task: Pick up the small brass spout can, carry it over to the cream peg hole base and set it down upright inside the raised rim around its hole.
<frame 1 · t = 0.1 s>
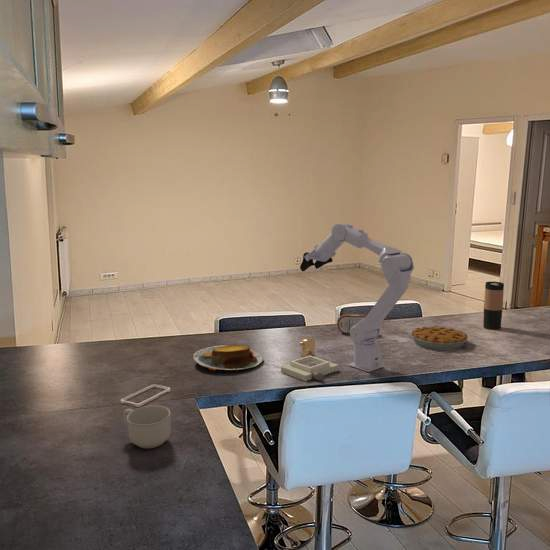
hand: (308, 267, 217), 32 cm above the worktop, tool tilted 50°, fingers open, 7 cm apart
spout can: (307, 357, 212), on the worktop
phone case: (146, 398, 176), on the worktop
cream peg hole base: (309, 371, 197), on the worktop
food on plate: (227, 363, 207), on the worktop
travel mug: (491, 328, 251), on the worktop
pie: (438, 343, 230), on the worktop
tin: (354, 333, 244), on the worktop
teacup: (146, 442, 146), on the worktop
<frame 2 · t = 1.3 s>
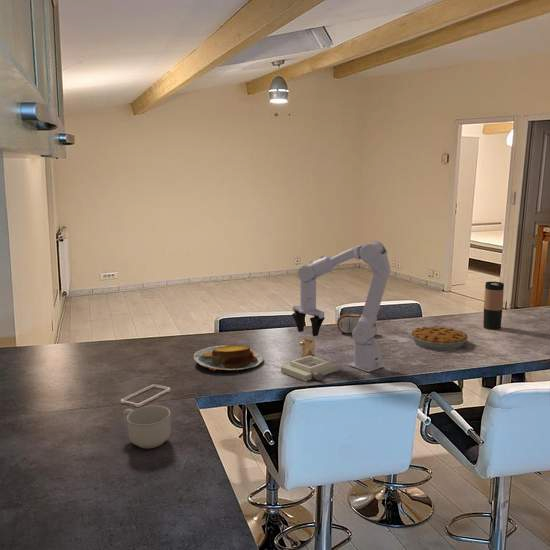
hand: (308, 333, 210), 9 cm above the worktop, tool pointing down, fingers open, 7 cm apart
nothing on the worktop moved.
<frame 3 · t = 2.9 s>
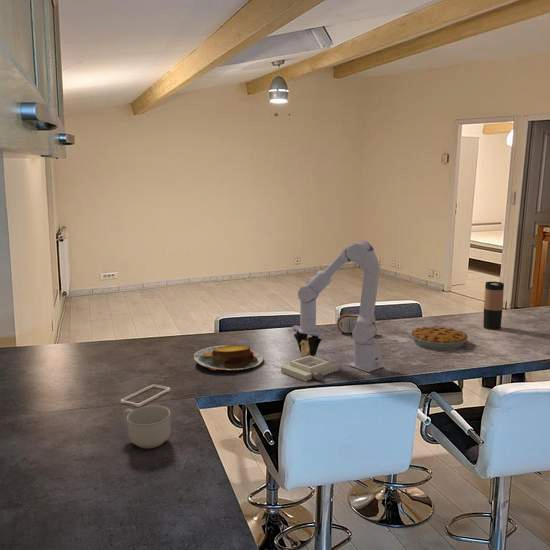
hand: (307, 353, 211), 2 cm above the worktop, tool pointing down, fingers closed on spout can, 5 cm apart
spout can: (307, 357, 212), on the worktop, touching gripper
everything else where it was.
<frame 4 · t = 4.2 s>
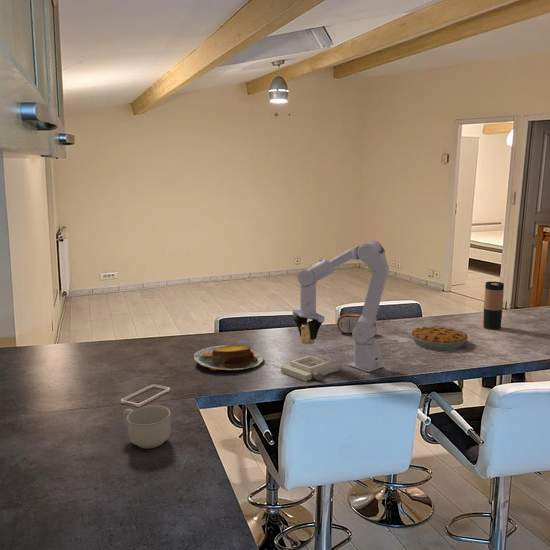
hand: (308, 337, 210), 8 cm above the worktop, tool pointing down, fingers closed on spout can, 5 cm apart
spout can: (308, 342, 211), point 6 cm above the worktop, touching gripper
everything else where it was.
when the fingers open (5 cm above the worktop, at t = 7.0 s): spout can stays where it is, resting on cream peg hole base.
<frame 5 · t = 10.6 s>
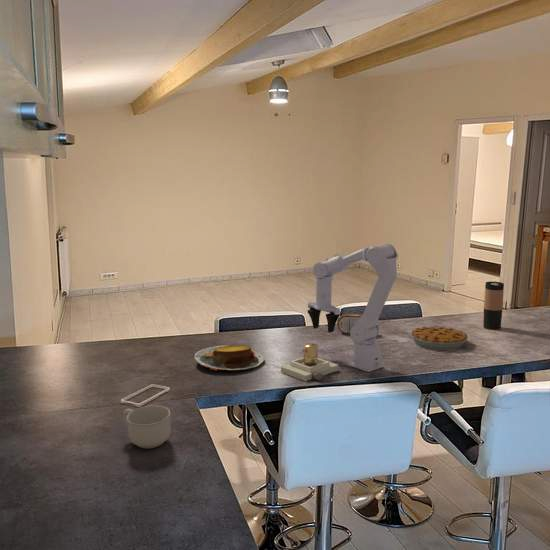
hand: (323, 329, 212), 10 cm above the worktop, tool pointing down, fingers open, 7 cm apart
spout can: (310, 365, 197), point 2 cm above the worktop, touching cream peg hole base
everything else where it was.
at the end: spout can 0.3 cm off-centre on the cream peg hole base, point 2.2 cm above the cream peg hole base's base; spout can tilted 0°; the gripper is holding nothing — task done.
